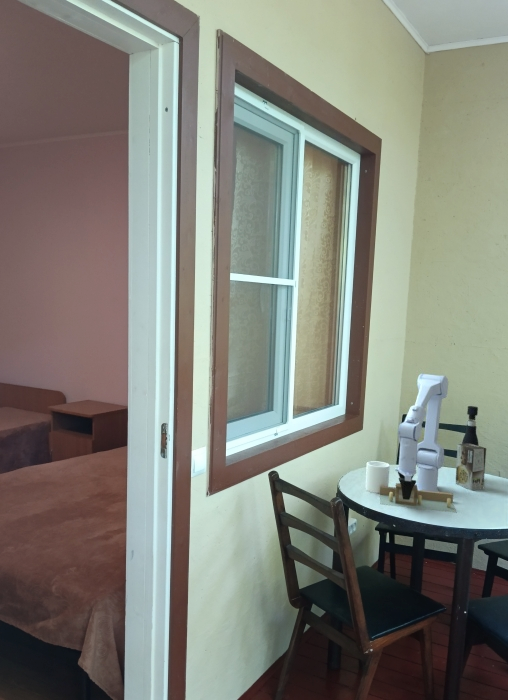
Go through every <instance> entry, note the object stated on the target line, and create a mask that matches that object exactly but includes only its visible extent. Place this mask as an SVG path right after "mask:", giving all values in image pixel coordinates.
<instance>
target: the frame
mask: <svg viewBox="0 0 508 700" xmlns="http://www.w3.org/2000/svg"><path fill="white" fill-rule="evenodd" d="M395 488H396V492H395V503H396V504H405V505H414V506H416V505H417V490H418V488H417V485H414V487H413V489H412V492H411V496H410V499H409V500H405V499H403V496H402V487H401V484H400V482H396V483H395Z"/></svg>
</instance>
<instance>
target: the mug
mask: <svg viewBox="0 0 508 700" xmlns="http://www.w3.org/2000/svg"><path fill="white" fill-rule="evenodd" d="M365 470H366V471H365V485H364V486H365V488H364V489H365V491H366V492H370V493H374V494H380V486H386V487H389V483H390V482H389V481H390V479H389V478H390V464H389V463H388V462H385V461H378V460H377V461H375V460H374V461H373V460H371V461H368V462H366V469H365Z"/></svg>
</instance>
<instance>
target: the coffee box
mask: <svg viewBox="0 0 508 700" xmlns="http://www.w3.org/2000/svg"><path fill="white" fill-rule="evenodd" d="M486 457H487V448H486V447H483V446H482V445H481V446H480V445H479V446H477V445H474V444H470V443H466V444H462V443H458V444H457V453H456V466H455V467H456V470H455V485H458V486H460V487H463V488H465V489H469V490H471V491H474V490H484V486H485V471H486Z"/></svg>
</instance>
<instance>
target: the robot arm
mask: <svg viewBox="0 0 508 700" xmlns="http://www.w3.org/2000/svg"><path fill="white" fill-rule="evenodd" d="M448 380H449V379H448V377H447V376H446V375H437V374H426V373H420V374H419V375H418V377H417V380H416V381H417V383H416V384H417V390H418V393H417V396H416V401H415V402H414V405H411V406H410V407H409V410H408V412H407V414H406V417H405V418H404V421H403V422H401V423H400V424H399V425H398V429H397V435H398V443H399V456H398V458H399V459H398V467H395V468H394V471H395V472H397V474H398V476H399V477H398V480H399V481H398V482H399V483H400V484H401V487H402V496H403V499H405V500H409V499H410V496H411V492H412V489H413V487H414V485H417V488H418V490H424V491H433V492H439V489H438V482H439V481H438V478H439V470H440V469H442V467H443V466H444V463H445V462H444V461H445V449H444V447H443V446H442V445H441V444H440V443H439V442H438V438H439V437H438V435H439V426H440V419H441V409H442V408H441V407H442V404H443V403H442V402H443V399H446V398H447V396H448V391H449V381H448ZM426 407H427V408H426ZM425 409H426V410H425ZM424 419H425V424H424V425H425V427H424V434H423V435H424V436H423V440H422V441H421V442H418V441H419V440H420V438H421V435H422V429H423V426H422V424H423V422H424ZM417 467H418V469H417ZM416 474H417V480H415V479H413V478H414V476H415V475H416Z"/></svg>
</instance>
